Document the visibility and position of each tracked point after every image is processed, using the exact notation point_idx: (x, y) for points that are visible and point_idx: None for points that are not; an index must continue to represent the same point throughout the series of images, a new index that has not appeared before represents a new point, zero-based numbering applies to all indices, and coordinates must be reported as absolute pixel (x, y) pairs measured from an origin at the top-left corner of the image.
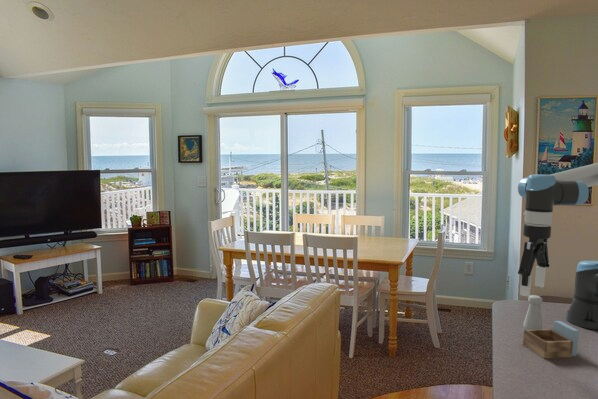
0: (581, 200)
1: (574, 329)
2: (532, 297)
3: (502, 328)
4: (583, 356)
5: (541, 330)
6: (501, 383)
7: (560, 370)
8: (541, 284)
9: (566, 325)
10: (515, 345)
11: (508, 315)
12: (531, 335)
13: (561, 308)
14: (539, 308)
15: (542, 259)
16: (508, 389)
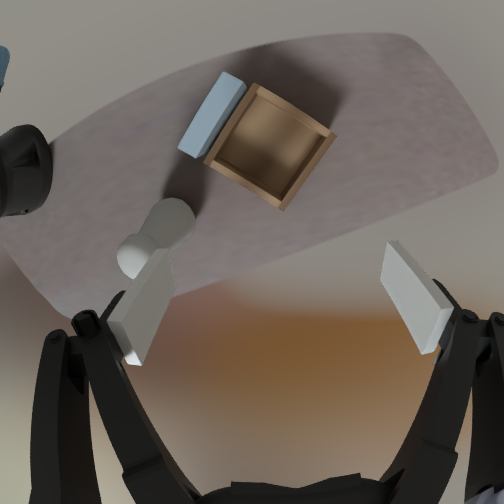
0: None
1: (225, 84)
2: None
3: (214, 271)
4: None
5: (241, 176)
6: (482, 173)
7: (361, 90)
8: (165, 266)
9: (207, 114)
10: (300, 209)
11: None
12: (301, 183)
13: (14, 236)
14: (147, 230)
15: (132, 395)
16: (490, 159)
